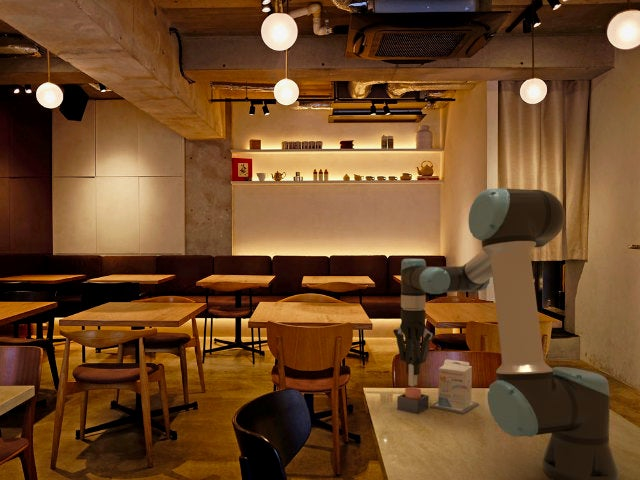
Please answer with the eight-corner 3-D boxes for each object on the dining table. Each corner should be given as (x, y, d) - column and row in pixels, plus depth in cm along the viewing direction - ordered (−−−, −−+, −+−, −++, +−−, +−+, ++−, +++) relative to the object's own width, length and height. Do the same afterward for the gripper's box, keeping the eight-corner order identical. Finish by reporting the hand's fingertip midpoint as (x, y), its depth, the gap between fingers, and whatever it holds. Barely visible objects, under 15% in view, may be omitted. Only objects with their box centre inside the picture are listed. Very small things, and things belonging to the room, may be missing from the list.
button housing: (417, 414, 161) (417, 400, 161) (397, 409, 166) (397, 396, 166) (428, 408, 167) (428, 395, 167) (408, 404, 171) (408, 391, 171)
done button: (416, 405, 163) (416, 392, 163) (402, 402, 166) (402, 389, 166) (423, 402, 167) (423, 389, 167) (409, 399, 170) (409, 386, 170)
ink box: (437, 405, 167) (437, 362, 167) (445, 398, 175) (445, 357, 175) (465, 409, 163) (465, 365, 163) (472, 402, 170) (472, 360, 170)
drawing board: (463, 414, 161) (463, 412, 161) (430, 407, 168) (430, 405, 168) (479, 405, 170) (479, 402, 170) (446, 398, 177) (446, 396, 177)
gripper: (438, 309, 165) (437, 385, 165) (400, 305, 173) (400, 378, 173) (426, 311, 159) (426, 391, 159) (388, 308, 167) (388, 383, 167)
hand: (412, 384), depth 166 cm, fingers closed
